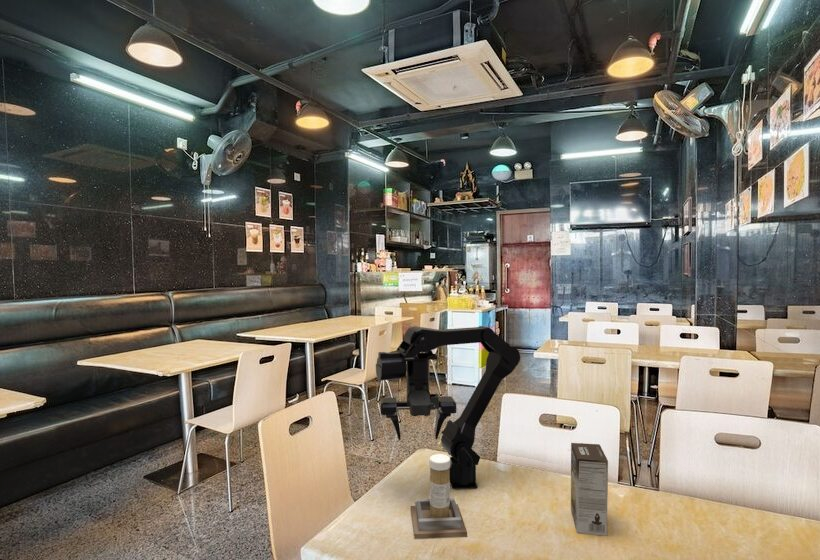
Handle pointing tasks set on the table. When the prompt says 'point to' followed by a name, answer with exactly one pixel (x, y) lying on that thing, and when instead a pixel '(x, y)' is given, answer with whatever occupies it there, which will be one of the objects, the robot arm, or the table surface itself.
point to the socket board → (436, 521)
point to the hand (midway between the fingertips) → (417, 439)
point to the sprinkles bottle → (439, 486)
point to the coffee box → (589, 488)
